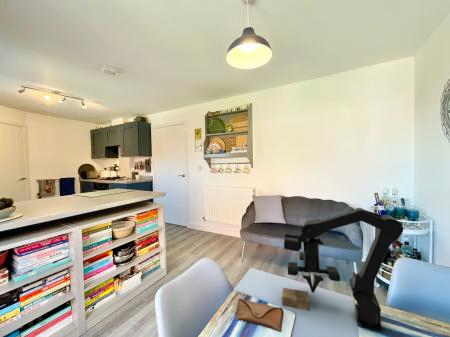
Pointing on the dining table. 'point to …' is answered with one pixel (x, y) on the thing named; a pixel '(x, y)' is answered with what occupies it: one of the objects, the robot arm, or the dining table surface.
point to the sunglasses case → (260, 314)
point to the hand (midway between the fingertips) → (312, 292)
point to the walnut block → (295, 298)
